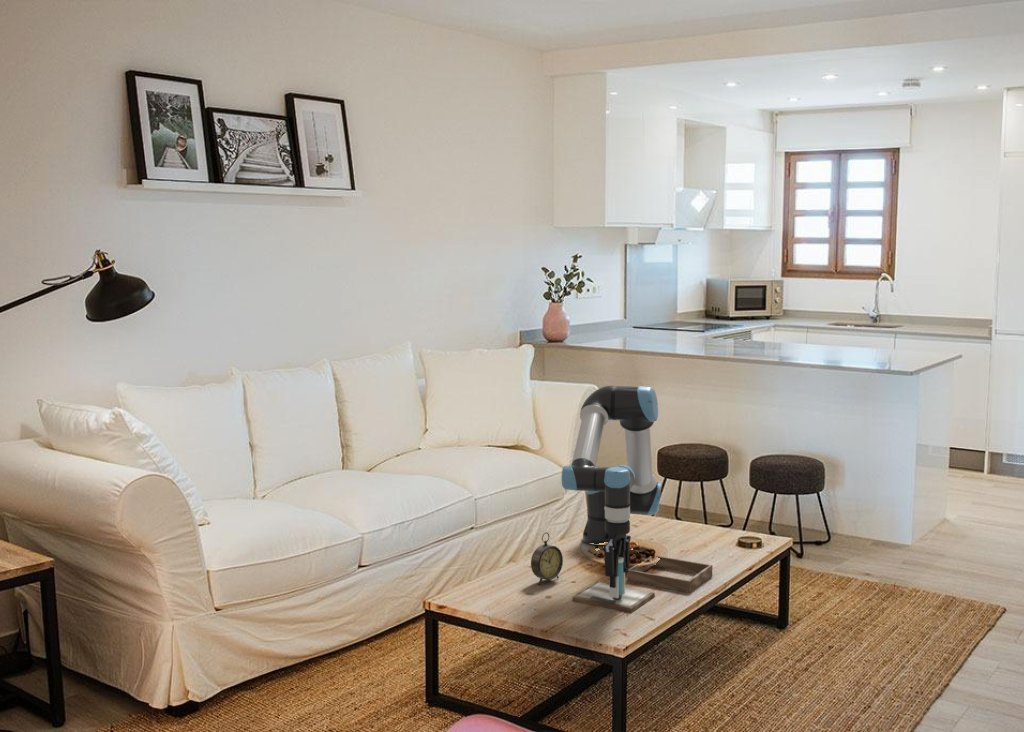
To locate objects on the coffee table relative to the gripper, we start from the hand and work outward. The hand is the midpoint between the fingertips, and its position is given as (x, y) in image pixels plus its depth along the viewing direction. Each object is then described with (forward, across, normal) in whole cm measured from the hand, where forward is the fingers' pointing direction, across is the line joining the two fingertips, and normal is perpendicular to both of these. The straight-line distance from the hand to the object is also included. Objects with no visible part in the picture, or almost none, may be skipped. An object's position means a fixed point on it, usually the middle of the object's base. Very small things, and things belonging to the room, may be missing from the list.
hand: (617, 594), depth 314 cm
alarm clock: (+3, -7, -29) cm, 30 cm away
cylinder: (+1, 0, 0) cm, 1 cm away
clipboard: (+3, -4, -3) cm, 6 cm away
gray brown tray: (+3, -30, +4) cm, 30 cm away
